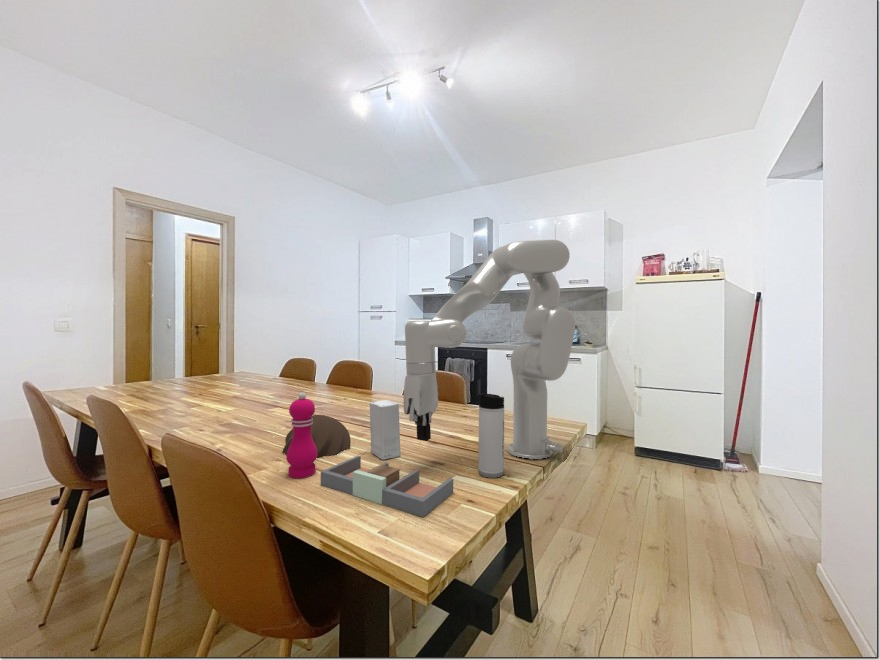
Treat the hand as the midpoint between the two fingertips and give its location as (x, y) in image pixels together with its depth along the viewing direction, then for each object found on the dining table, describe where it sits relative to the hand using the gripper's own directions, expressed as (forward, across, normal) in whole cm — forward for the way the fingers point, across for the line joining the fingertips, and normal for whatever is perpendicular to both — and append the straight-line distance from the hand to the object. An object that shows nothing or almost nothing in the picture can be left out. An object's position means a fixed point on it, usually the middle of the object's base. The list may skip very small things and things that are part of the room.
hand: (423, 439), depth 95 cm
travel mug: (+8, -5, +16) cm, 19 cm away
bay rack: (+7, +15, -1) cm, 16 cm away
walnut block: (+7, +16, -1) cm, 17 cm away
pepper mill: (+6, +19, -24) cm, 31 cm away
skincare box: (+7, -2, -15) cm, 17 cm away
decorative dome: (+7, +3, -36) cm, 37 cm away
